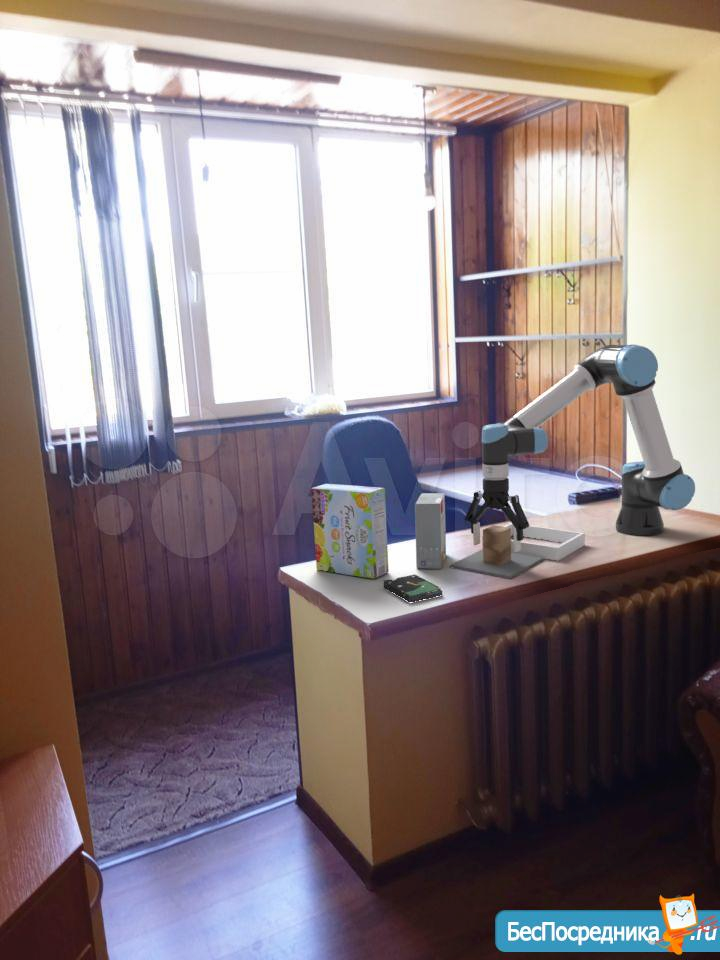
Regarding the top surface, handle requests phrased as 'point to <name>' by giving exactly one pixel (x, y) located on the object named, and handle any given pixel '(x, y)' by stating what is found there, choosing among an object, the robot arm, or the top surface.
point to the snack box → (350, 530)
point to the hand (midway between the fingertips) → (496, 547)
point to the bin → (567, 538)
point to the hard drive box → (430, 530)
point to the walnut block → (497, 545)
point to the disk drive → (412, 588)
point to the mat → (506, 570)
